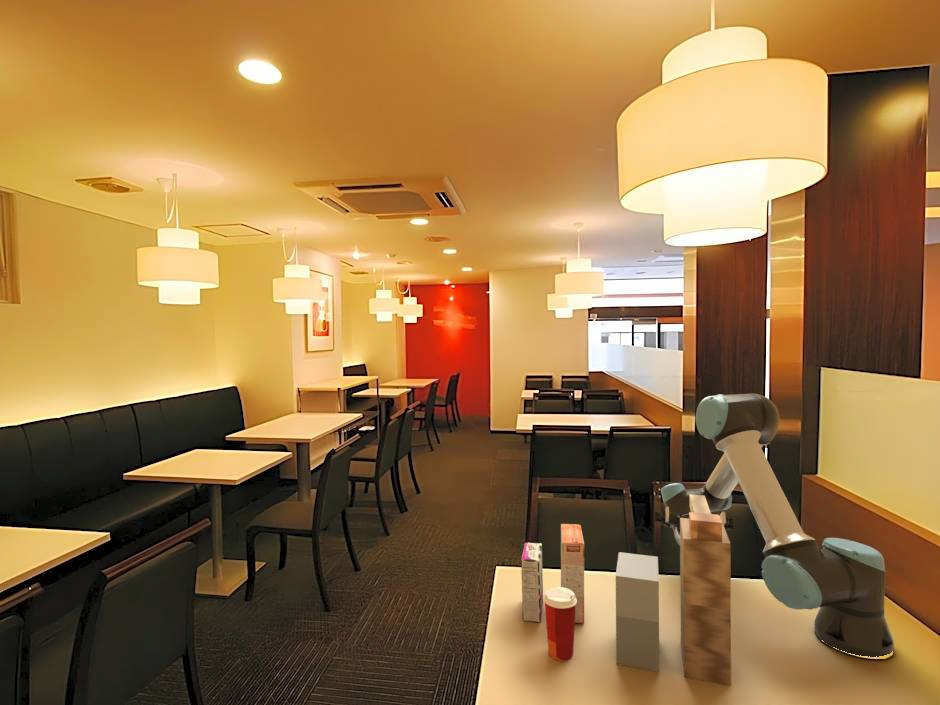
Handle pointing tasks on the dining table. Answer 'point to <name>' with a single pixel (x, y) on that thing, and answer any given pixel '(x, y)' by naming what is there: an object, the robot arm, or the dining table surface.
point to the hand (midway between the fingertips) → (695, 514)
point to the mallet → (703, 520)
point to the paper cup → (560, 622)
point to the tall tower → (705, 606)
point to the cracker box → (573, 565)
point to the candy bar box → (532, 582)
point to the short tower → (637, 611)
